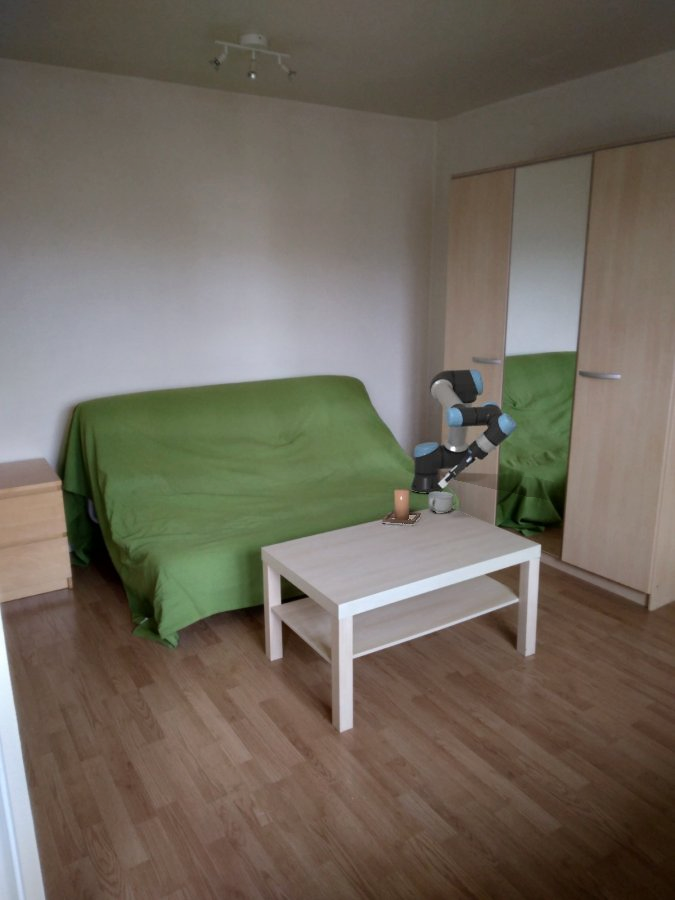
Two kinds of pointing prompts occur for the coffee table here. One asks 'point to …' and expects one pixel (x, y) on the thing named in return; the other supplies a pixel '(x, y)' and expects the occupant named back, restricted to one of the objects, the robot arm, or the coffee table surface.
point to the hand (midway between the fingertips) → (444, 481)
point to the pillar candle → (401, 504)
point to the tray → (392, 515)
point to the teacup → (440, 501)
